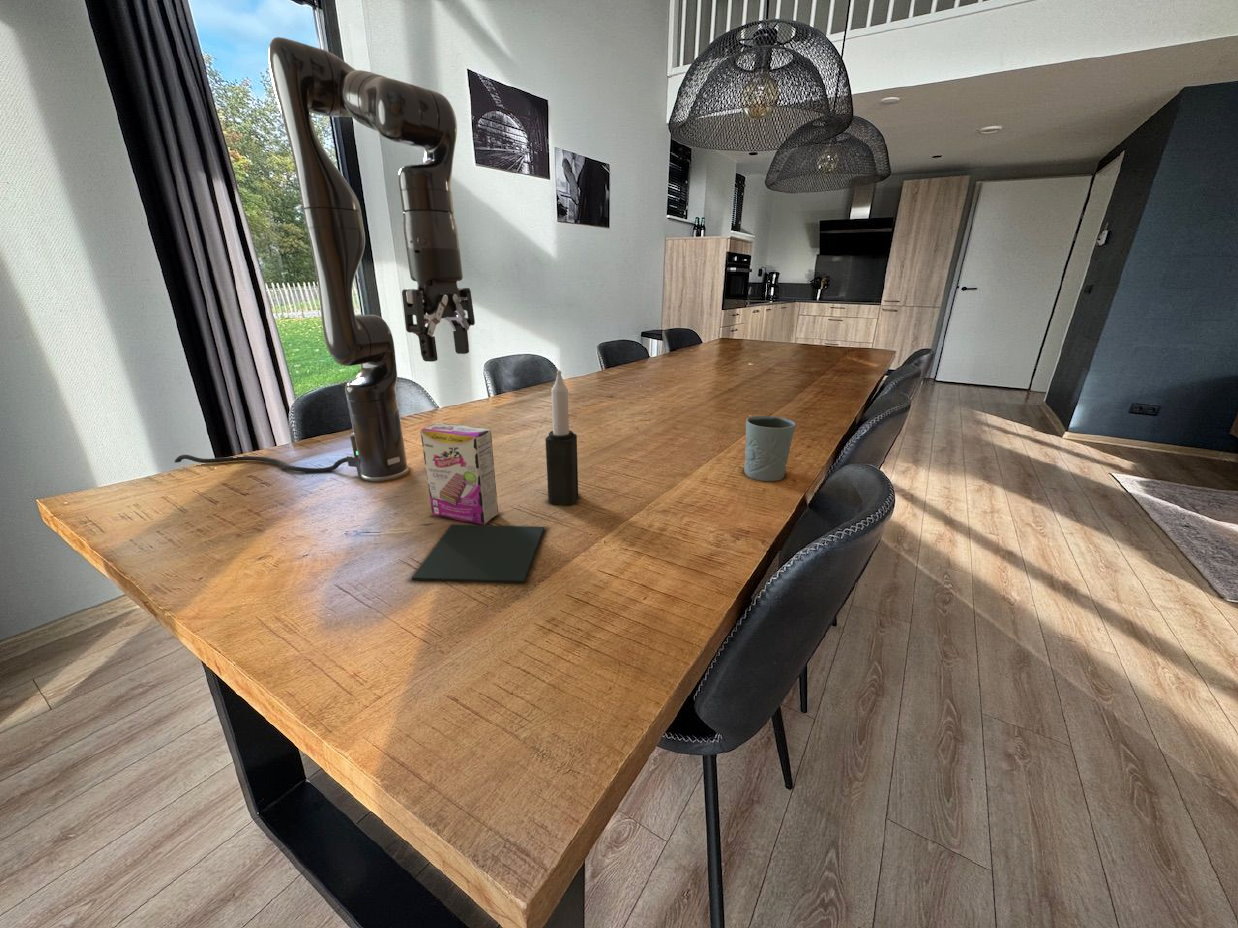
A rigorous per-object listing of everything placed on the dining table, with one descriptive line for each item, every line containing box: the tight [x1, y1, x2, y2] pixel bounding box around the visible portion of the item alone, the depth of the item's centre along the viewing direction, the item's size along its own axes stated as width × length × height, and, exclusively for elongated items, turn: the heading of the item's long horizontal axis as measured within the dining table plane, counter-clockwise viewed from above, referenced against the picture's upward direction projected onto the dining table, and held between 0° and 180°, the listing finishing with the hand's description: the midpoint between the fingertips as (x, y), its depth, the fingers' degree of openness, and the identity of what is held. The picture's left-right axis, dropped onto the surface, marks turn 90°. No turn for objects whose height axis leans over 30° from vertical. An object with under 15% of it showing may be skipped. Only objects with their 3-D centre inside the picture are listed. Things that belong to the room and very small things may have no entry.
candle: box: [544, 369, 579, 506], centre depth 91 cm, size 5×5×25 cm
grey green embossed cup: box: [743, 415, 797, 482], centre depth 106 cm, size 10×10×12 cm
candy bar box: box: [419, 422, 499, 526], centre depth 86 cm, size 11×5×16 cm, turn 71°
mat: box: [411, 524, 545, 584], centre depth 77 cm, size 16×16×1 cm
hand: (447, 357), depth 79 cm, fingers open, 8 cm apart
